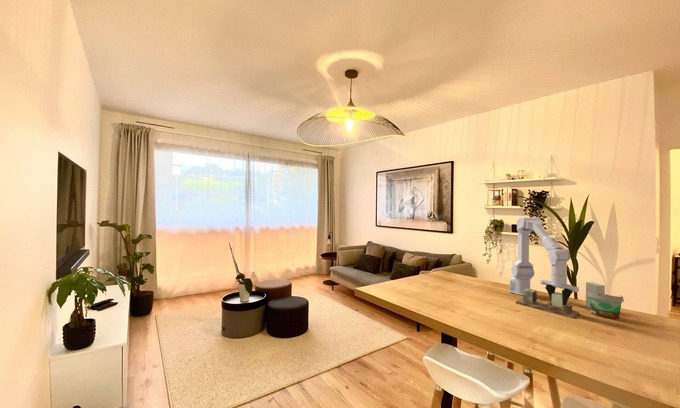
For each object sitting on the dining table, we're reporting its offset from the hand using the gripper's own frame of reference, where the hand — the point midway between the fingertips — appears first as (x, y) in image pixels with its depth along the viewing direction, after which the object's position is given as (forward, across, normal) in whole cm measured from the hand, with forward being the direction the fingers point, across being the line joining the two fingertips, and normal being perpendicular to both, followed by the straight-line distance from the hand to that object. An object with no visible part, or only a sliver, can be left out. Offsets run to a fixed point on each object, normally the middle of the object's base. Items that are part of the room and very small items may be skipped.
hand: (558, 303), depth 130 cm
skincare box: (+4, -6, -21) cm, 22 cm away
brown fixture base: (+4, +5, +1) cm, 6 cm away
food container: (+4, -14, -12) cm, 18 cm away
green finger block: (+2, 0, 0) cm, 2 cm away
